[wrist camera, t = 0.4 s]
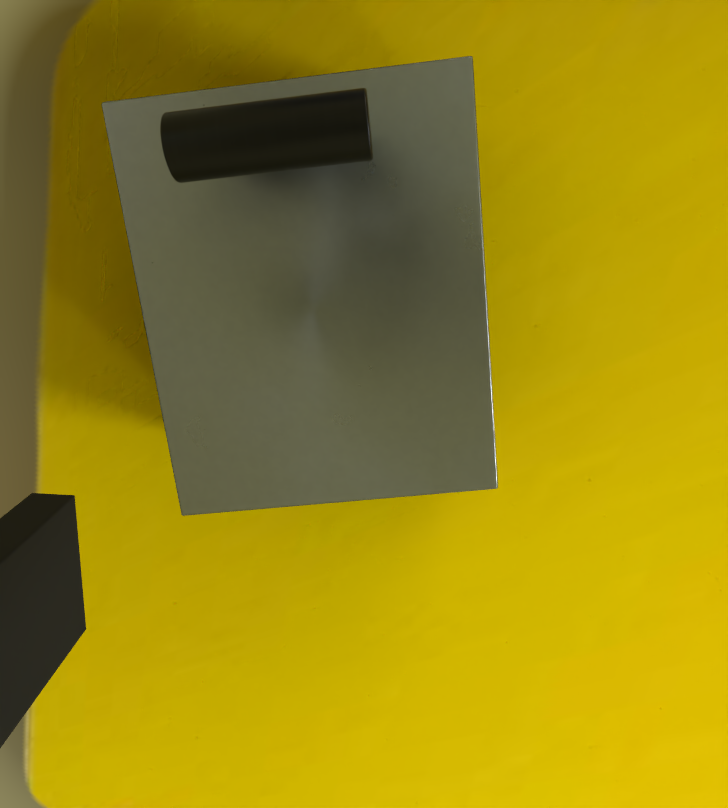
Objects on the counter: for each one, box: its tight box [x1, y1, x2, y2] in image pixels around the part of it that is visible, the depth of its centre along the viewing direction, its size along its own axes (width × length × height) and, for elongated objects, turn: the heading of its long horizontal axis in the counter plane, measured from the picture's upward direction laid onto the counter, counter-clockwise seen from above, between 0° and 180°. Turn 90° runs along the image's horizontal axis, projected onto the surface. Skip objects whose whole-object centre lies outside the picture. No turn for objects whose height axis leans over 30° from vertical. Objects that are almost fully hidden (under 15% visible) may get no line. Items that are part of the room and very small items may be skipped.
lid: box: [102, 56, 498, 516], centre depth 24 cm, size 17×14×7 cm
